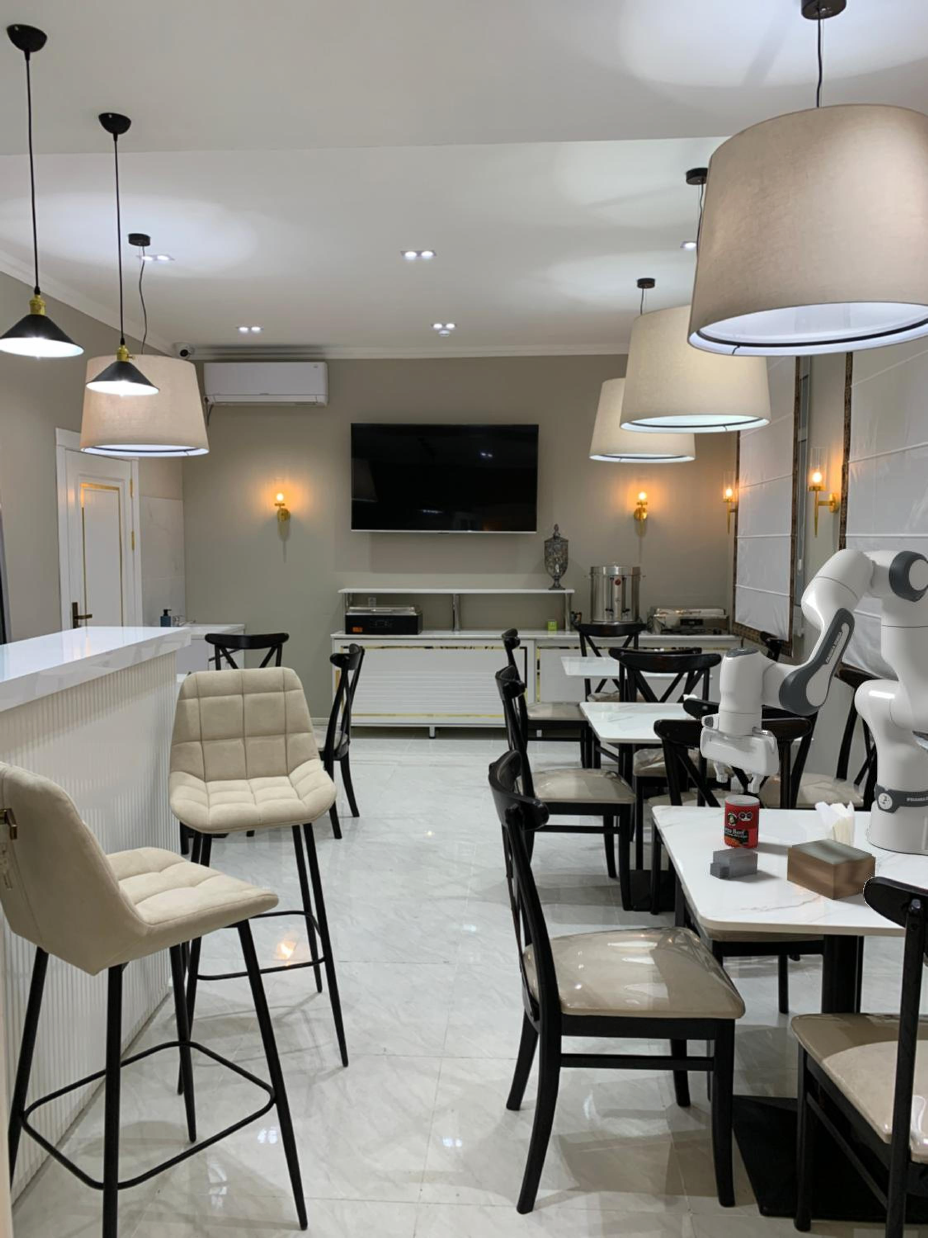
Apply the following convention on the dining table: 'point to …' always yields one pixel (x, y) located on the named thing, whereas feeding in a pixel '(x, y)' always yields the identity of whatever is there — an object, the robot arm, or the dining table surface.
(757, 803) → the canned food
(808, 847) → the stand
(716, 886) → the dining table surface
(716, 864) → the block
